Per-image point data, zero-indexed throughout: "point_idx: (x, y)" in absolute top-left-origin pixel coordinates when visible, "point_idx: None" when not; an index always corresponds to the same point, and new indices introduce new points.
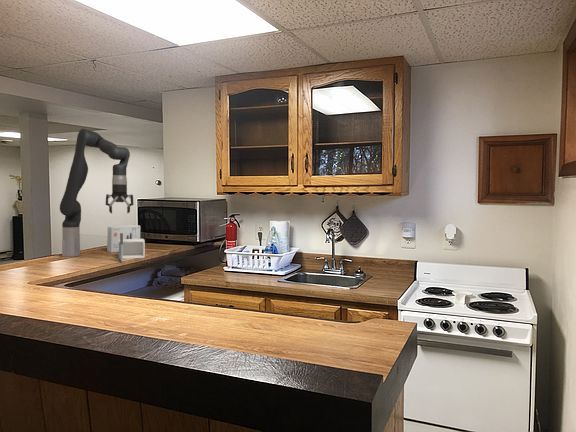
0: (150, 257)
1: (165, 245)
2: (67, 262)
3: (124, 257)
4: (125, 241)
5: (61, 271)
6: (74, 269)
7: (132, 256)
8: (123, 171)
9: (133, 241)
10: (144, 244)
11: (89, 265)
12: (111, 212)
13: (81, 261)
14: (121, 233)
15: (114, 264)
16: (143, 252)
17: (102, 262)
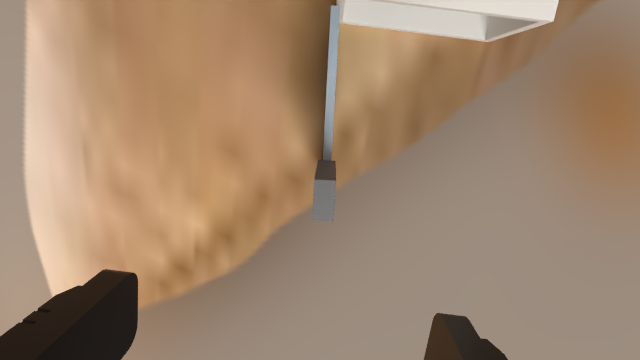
0: (521, 54)
1: None
2: (48, 42)
3: (366, 25)
4: (388, 1)
5: (52, 284)
6: (101, 261)
7: (420, 9)
8: None
9: (455, 10)
10: (532, 27)
11: (164, 186)
12: (115, 349)
13: (120, 38)
14: (322, 209)
15: (282, 208)
16: (499, 21)
17: (230, 121)
